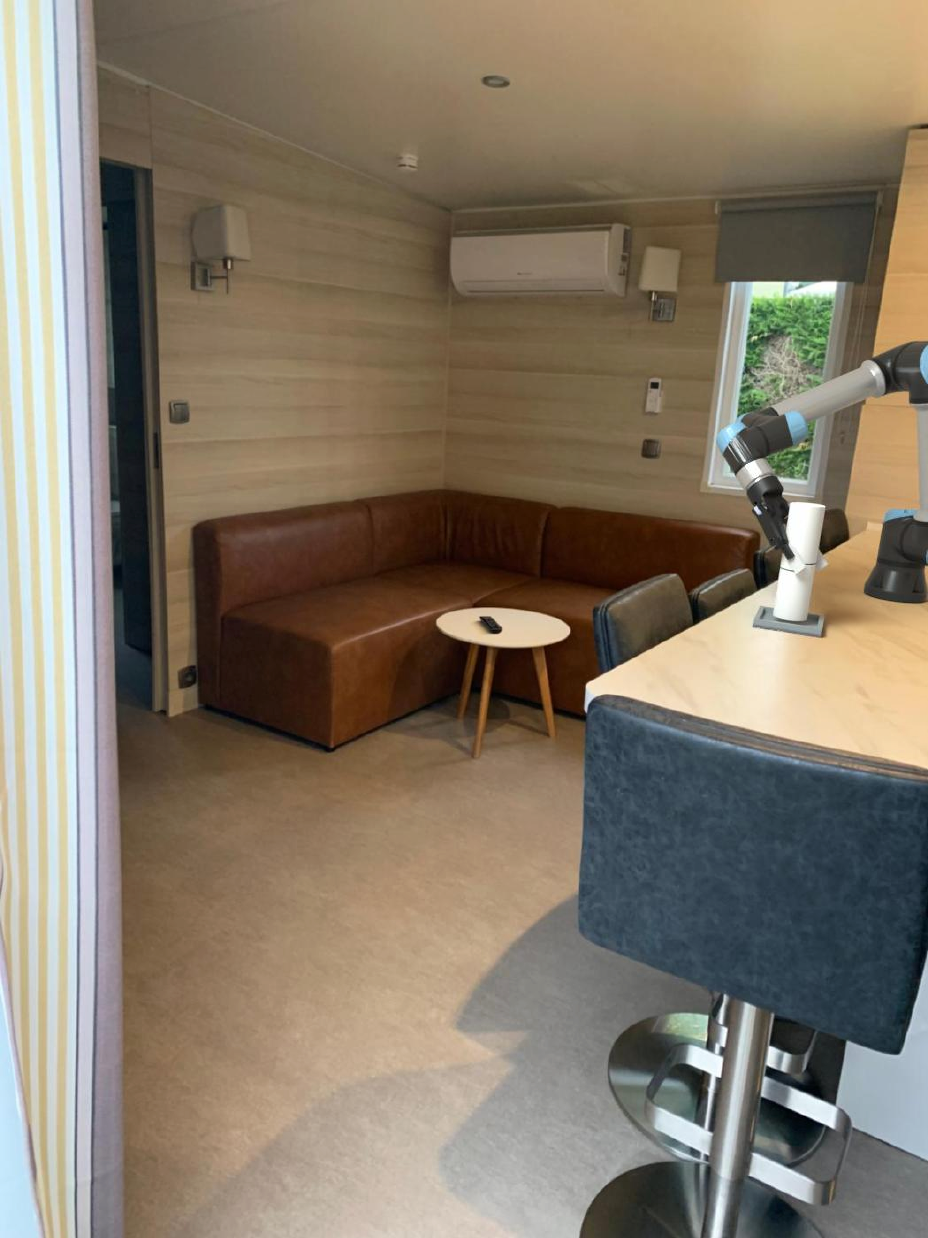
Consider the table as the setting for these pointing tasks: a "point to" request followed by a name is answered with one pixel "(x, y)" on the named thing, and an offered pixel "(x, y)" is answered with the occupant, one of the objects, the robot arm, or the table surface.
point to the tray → (789, 623)
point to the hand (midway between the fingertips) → (812, 569)
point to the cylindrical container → (806, 540)
